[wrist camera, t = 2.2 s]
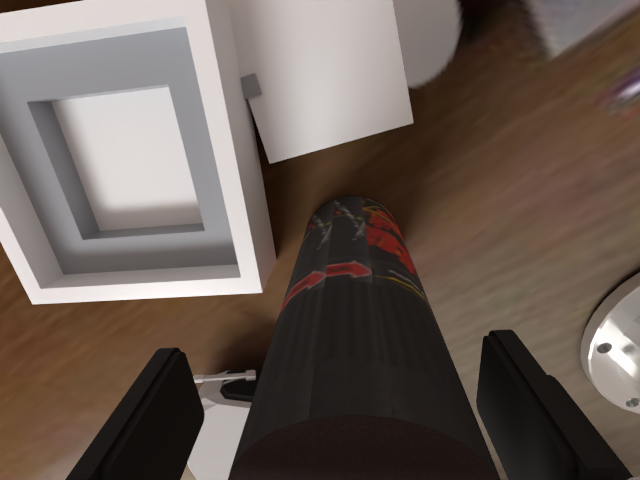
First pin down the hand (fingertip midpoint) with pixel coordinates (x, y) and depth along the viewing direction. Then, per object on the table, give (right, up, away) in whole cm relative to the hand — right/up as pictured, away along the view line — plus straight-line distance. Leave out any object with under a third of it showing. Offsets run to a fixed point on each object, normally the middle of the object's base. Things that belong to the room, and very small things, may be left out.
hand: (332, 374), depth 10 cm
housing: (-11, +9, +9) cm, 17 cm away
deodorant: (+2, +4, +11) cm, 12 cm away
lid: (0, +13, +7) cm, 15 cm away
